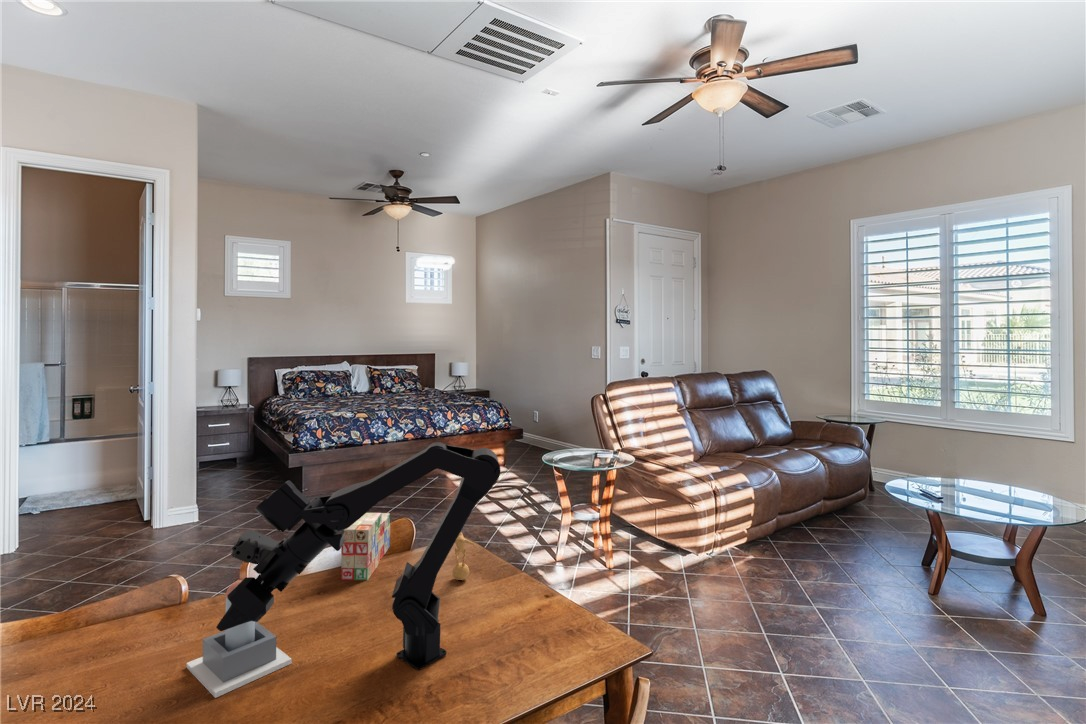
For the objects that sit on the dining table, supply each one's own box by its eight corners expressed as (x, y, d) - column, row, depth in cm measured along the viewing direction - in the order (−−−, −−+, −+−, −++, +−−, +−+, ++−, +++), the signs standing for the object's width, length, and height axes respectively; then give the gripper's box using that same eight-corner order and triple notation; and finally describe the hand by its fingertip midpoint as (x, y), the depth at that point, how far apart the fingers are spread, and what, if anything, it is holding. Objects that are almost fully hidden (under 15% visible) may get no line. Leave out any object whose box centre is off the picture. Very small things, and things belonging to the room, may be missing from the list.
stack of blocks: (367, 546, 147) (367, 501, 147) (390, 546, 147) (391, 501, 147) (340, 580, 126) (341, 528, 125) (367, 581, 126) (368, 528, 125)
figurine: (478, 576, 130) (479, 526, 129) (477, 587, 124) (478, 535, 123) (443, 576, 129) (444, 526, 129) (440, 587, 123) (441, 535, 123)
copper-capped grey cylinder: (260, 655, 94) (261, 576, 93) (241, 670, 90) (242, 588, 89) (238, 651, 95) (238, 574, 94) (218, 666, 90) (219, 585, 90)
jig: (291, 663, 93) (291, 636, 93) (215, 698, 84) (215, 667, 84) (259, 638, 101) (260, 612, 100) (186, 667, 91) (186, 639, 91)
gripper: (284, 500, 101) (220, 560, 100) (242, 536, 83) (163, 610, 81) (327, 541, 102) (265, 600, 101) (295, 585, 84) (219, 658, 83)
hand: (231, 614), depth 92 cm, fingers open, 9 cm apart
